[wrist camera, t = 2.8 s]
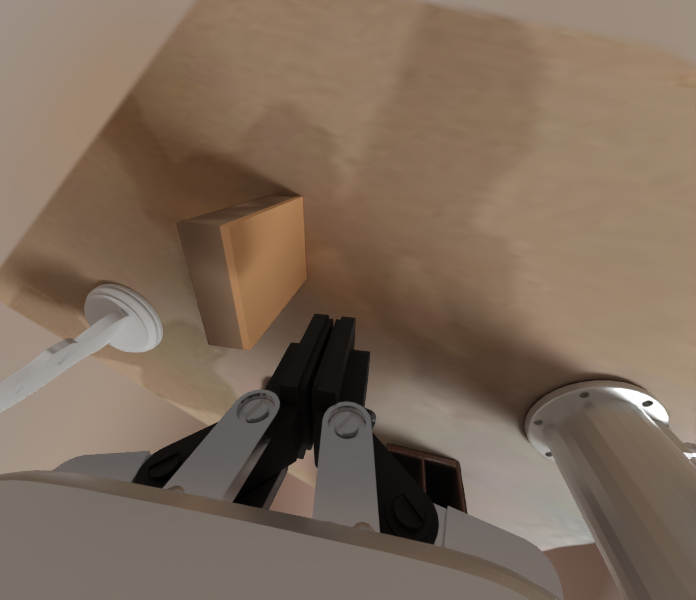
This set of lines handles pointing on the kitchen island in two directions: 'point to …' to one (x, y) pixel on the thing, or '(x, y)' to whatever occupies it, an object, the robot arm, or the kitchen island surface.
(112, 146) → the kitchen island surface
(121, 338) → the chess piece
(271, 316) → the tan flat block
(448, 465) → the letter holder
